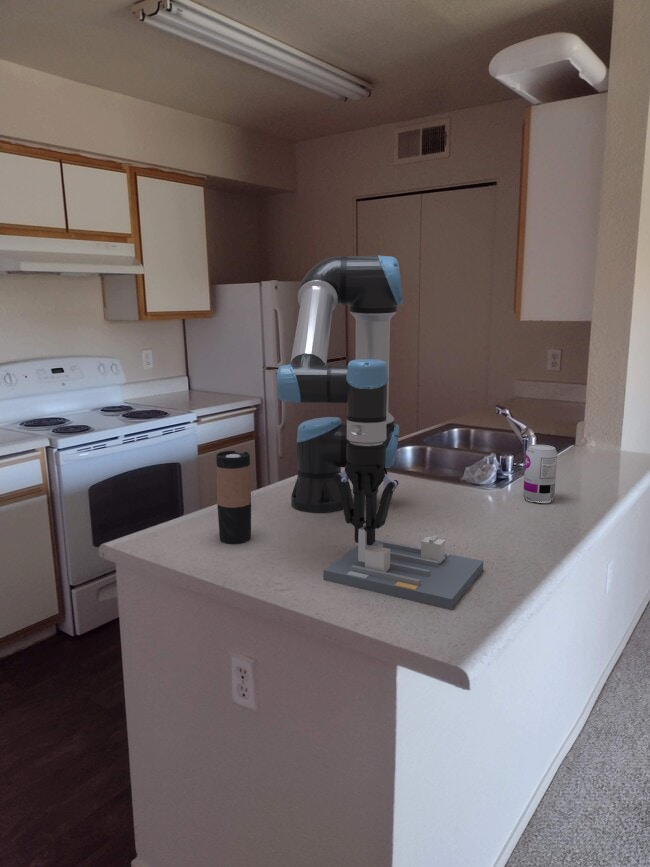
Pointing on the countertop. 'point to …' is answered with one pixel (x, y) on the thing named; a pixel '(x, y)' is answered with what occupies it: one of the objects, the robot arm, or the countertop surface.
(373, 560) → the tab
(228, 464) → the travel mug
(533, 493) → the supplement can
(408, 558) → the switch board
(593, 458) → the countertop surface
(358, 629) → the countertop surface
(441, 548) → the tab
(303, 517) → the countertop surface
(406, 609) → the countertop surface
